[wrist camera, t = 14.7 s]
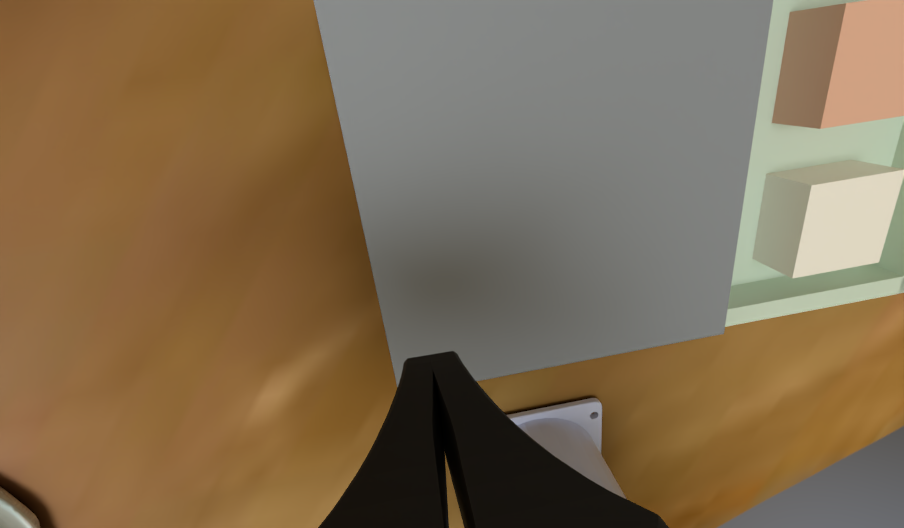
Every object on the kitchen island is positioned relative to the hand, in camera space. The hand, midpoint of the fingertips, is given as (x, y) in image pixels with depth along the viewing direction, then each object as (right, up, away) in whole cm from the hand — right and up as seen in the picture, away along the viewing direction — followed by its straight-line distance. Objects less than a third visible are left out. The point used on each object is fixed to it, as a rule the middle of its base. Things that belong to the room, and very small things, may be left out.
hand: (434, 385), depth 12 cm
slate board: (+5, +7, +9) cm, 12 cm away
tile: (+18, +5, +8) cm, 21 cm away
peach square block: (+18, +11, +6) cm, 21 cm away
